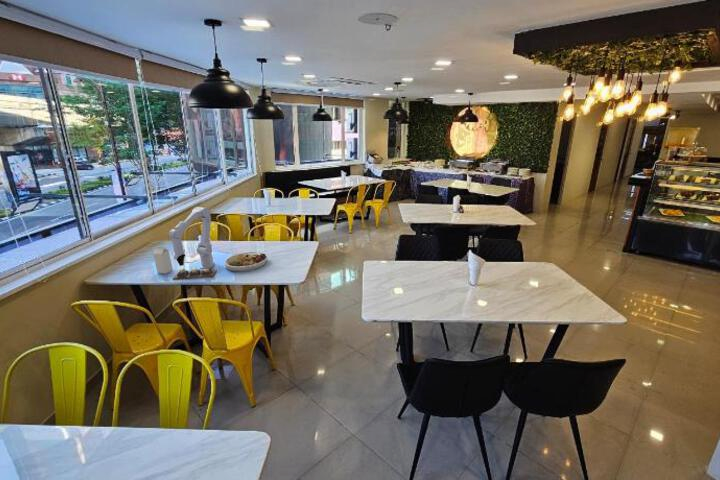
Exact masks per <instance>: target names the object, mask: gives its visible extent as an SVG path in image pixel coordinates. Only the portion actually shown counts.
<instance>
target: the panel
mask: <svg viewBox="0 0 720 480" xmlns="http://www.w3.org/2000/svg"><path fill="white" fill-rule="evenodd" d="M204 269H205V268H202V269H197V272H196V273H192V271H191V270H187V269H185V273H181V274H180V272H179V271H178V272H177V273H176V275H175V276H174V277H173V279H172V280H174V281H175V280H176V281H177V280H179V281H180V280H190V279H191V280H192V279H203V278H204V279H205V278H214V276H215V274H216V273H217V272H218V269H217V268H216V269H212V268H208V269H209V272H204Z"/></svg>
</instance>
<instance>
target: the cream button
mask: <svg viewBox="0 0 720 480" xmlns="http://www.w3.org/2000/svg"><path fill="white" fill-rule="evenodd" d="M197 270H198V268H197V267H191V269H190V271H192V273H196V272H197Z"/></svg>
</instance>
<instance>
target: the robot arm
mask: <svg viewBox="0 0 720 480" xmlns="http://www.w3.org/2000/svg"><path fill="white" fill-rule="evenodd" d="M191 211H192V212H191V213H190V214H189V215H188V216H187V218H186V219H184V221H183V220H181V221H179V223H178V224H177V225H176V226H174V227H173V228H172V229H171V230H169V232H168V236H169V238H170V239H171V243H172V247H173V253H172V255H173V260H176V261H177V263H178V265H179V266H180V267H181V266H182V267H183V266H184V265H185V264H184V263H185V257H186V254H185V252H186V249H184V246H183V240H182V237H183V233H184V232H185V231H187V229H188V228H189V225H190V223H192V222H193V221H195V219H197V218H200V219H201V220H202V223H201V234H200V235H201V236H200V242H199V243H198V246H197V247H196V252H197V254H198V255H199V256H200V262H201V266H200V269H212V268H213V266H214V265H215V262H214V257H213V248H212V244H211V243H210V235H211V224H212V223H211V222H212V217H211V210H210V209H209V208H208V207H201V206H196V207H194V208H193V209H192V210H191Z"/></svg>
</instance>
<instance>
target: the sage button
mask: <svg viewBox="0 0 720 480" xmlns="http://www.w3.org/2000/svg"><path fill="white" fill-rule="evenodd" d="M185 270H186V268H184V267H183V268H180V269H179V271H178V272H180V274H181V273H185Z"/></svg>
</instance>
